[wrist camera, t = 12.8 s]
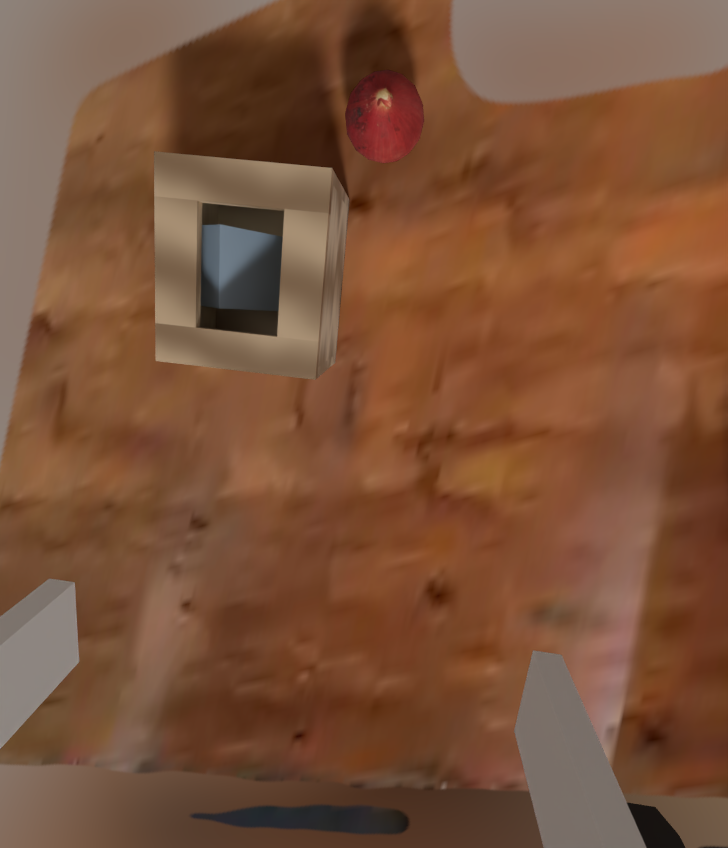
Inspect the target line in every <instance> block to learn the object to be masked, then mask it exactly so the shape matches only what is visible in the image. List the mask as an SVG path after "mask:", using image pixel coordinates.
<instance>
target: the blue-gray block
mask: <svg viewBox="0 0 728 848" xmlns="http://www.w3.org/2000/svg"><path fill="white" fill-rule="evenodd" d="M282 242H283V237H281V236H276V235H271V234H266V233H261V232H256V231H251V230H246V229H241V228H236V227H231V226H226V225H221V224H216V225H202V245H201V306H206V307H213V308H223V309H244V310H265V311H279V295H280V277H281V260H282Z"/></svg>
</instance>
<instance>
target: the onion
mask: <svg viewBox="0 0 728 848" xmlns="http://www.w3.org/2000/svg"><path fill="white" fill-rule="evenodd" d="M345 116H346V127H347V135H348V136H349V138H350V140H351V142H352V144H353V146H354V147H355V149H356V150H357V151H358V152H359V153H361V154H362V155H363V156H365V157H366V158H367V159H369V160H373V161H377V162H381V163H388V162H394V161H398V160H399V159H401V158H403V157H404V156H406V155H407V154H409V153H410V151H411V150H412V149H413V147H414V146H415V145H416V143H417V142H418V141H419V138H420V135H421V131H422V127H423V123H424V114H423V104H422V101H421V99H420V96H419V94H418V92H417V89H416V87H415V85H413V84H412V83H411V82H410V81H409V80H408V79H407V78H406V77H405V76H403V75H402V74H400V73H397V72H394V71H390V70H383V71H376V72H373V73H371V74H370V75H368V76H366V77H365V78H363V79H362V80H361V81H360V82H359V83H358V85H357V86H356V87H355V89H354V90H353V91H352V93H351V94H350V98H349V101H348V105H347V108H346V113H345Z"/></svg>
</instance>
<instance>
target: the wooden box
mask: <svg viewBox="0 0 728 848" xmlns="http://www.w3.org/2000/svg"><path fill="white" fill-rule="evenodd" d="M154 201H155V331H156V361H162V362H170V363H179V364H187V365H196V366H204V367H213V368H221V369H230V370H238V371H247V372H255V373H264V374H272V375H281V376H289V377H298V378H306V379H315V380H316V379H317V378H318V377H319V376H320V375H321V374H323V373H324V372H325V371H326V370H327V369H328V368H329V367H331V366H332V365H333V364H334V363H335V358H336V347H337V335H338V324H339V313H340V301H341V290H342V279H343V268H344V256H345V245H346V234H347V222H348V211H349V198H348V196H347V194H346V192H345V190H344V189H343V187H342V185H341V183H340V181H339V180H338V178H337V176H336V174H335V172H334V170H333V169H332V168H327V167H316V166H305V165H294V164H284V163H273V162H262V161H251V160H241V159H230V158H219V157H208V156H197V155H187V154H176V153H165V152H154ZM216 224H221V225H226V226H231V227H236V228H241V229H246V230H251V231H256V232H261V233H266V234H271V235H276V236H281V237H283V242H282V260H281V277H280V295H279V311H265V310H244V309H223V308H213V307H206V306H201V245H202V225H216Z"/></svg>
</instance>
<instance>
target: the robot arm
mask: <svg viewBox="0 0 728 848" xmlns="http://www.w3.org/2000/svg"><path fill="white" fill-rule="evenodd" d="M78 663H79V653H78V635H77V616H76V598H75V582H68V581H61V580H55V579H48V580H47V581H46V582H44V583H43V584H42V585H41V586H39V587H38V588H37V589H35V590H34V591H33V592H32V593H30V594H29V595H28V596H26V597H25V598H24V599H23V600H21V601H20V602H19V603H17V604H16V605H15V606H14V607H12V608H11V609H10V610H8V611H7V612H6V613H5V614H3V615H2V616H1V617H0V749H1V747H2V746H3V745H4V744H5V743H6V742H7V741H8V740H9V739H10V738H11V736H12V735H13V734H14V733H15V732H16V731H17V730H18V729H19V728H20V726H21V725H22V724H23V723H24V722H25V721H26V720H27V719H28V718H29V717H30V715H31V714H32V713H33V712H34V711H35V710H36V709H37V708H38V707H39V706H40V704H41V703H42V702H43V701H44V700H45V699H46V698H47V697H48V696H49V695H50V693H51V692H52V691H53V690H54V689H55V688H56V687H57V686H58V685H59V683H60V682H61V681H62V680H63V679H64V678H65V677H66V676H67V675H68V674H69V672H70V671H71V670H72V669H73V668H74V667H75V666H76V665H77V664H78ZM514 732H515V736H516V739H517V743H518V747H519V751H520V755H521V759H522V763H523V767H524V771H525V775H526V779H527V783H528V787H529V791H530V795H531V799H532V802H533V806H534V811H535V814H536V818H537V822H538V826H539V830H540V834H541V838H542V842H543V846H544V848H685V846H684V844H683V842H682V840H681V838H680V836H679V835H678V834H677V832H676V831H675V830H674V829H673V828H672V826H671V825H670V824H669V823H668V822H667V821H666V819H665V818H664V817H663V816H662V815H661V814H660V812H659V811H658V810H657V809H656V807H651V806H644V805H639V804H633V803H627V802H626V800H625V798H624V796H623V793H622V791H621V789H620V787H619V784H618V782H617V780H616V778H615V775H614V773H613V771H612V768H611V766H610V764H609V762H608V759H607V757H606V755H605V753H604V750H603V748H602V746H601V744H600V741H599V739H598V737H597V734H596V732H595V730H594V728H593V725H592V723H591V721H590V719H589V716H588V714H587V712H586V710H585V707H584V705H583V703H582V700H581V698H580V696H579V694H578V691H577V689H576V687H575V685H574V682H573V680H572V678H571V676H570V673H569V671H568V669H567V666H566V664H565V662H564V660H563V657H562V655H559V654H553V653H546V652H539V651H533V653H532V657H531V662H530V666H529V670H528V674H527V679H526V683H525V687H524V691H523V696H522V700H521V704H520V708H519V713H518V717H517V721H516V726H515V730H514Z"/></svg>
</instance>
